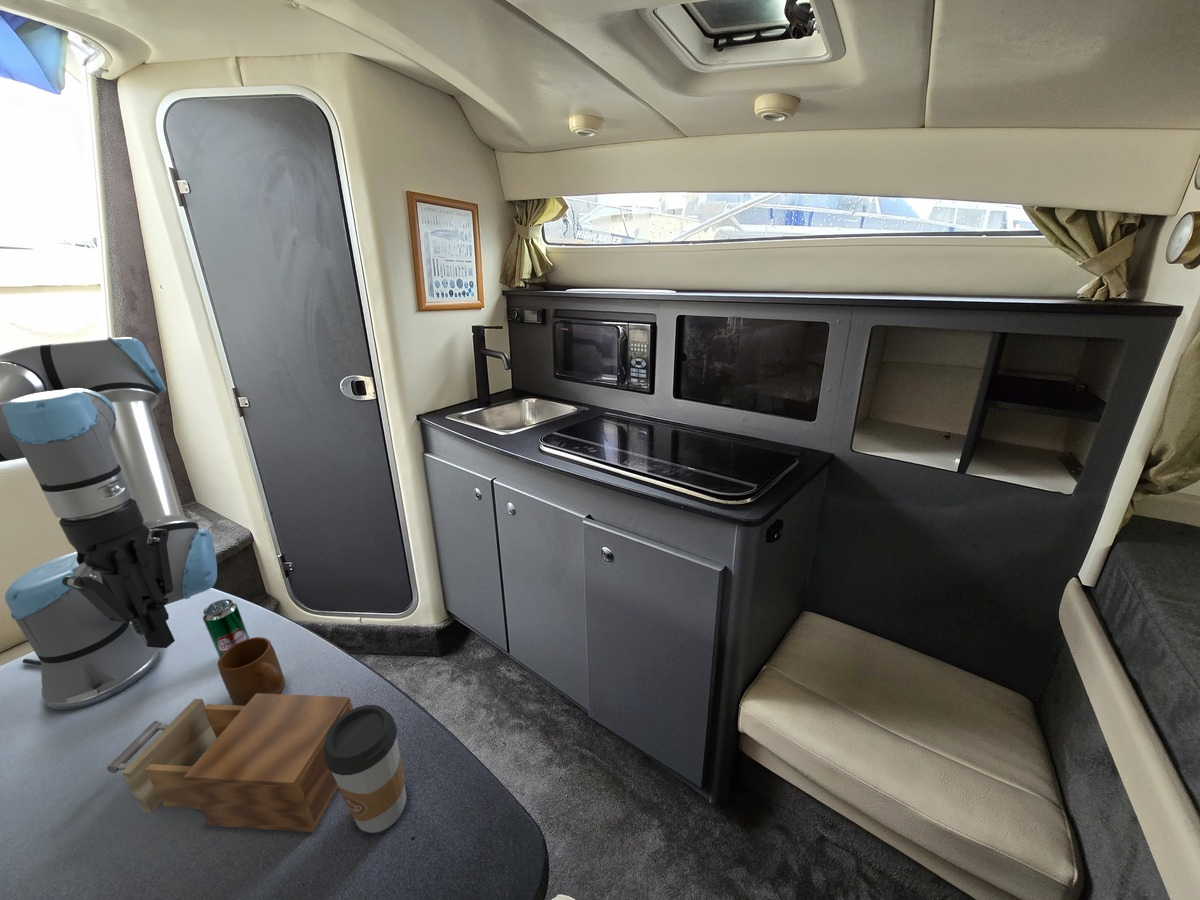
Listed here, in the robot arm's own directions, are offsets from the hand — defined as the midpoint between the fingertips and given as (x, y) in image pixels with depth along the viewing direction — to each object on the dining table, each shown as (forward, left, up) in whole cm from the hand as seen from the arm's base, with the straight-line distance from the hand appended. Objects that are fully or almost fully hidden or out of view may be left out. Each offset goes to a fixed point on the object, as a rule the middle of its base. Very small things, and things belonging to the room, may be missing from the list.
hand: (162, 643), depth 75 cm
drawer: (+9, -9, -15) cm, 20 cm away
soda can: (-4, +13, -16) cm, 21 cm away
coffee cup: (+37, -12, -16) cm, 42 cm away
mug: (+9, +4, -16) cm, 19 cm away
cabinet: (+22, -9, -16) cm, 29 cm away
